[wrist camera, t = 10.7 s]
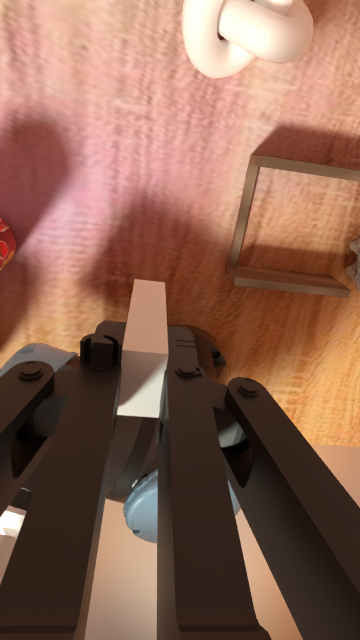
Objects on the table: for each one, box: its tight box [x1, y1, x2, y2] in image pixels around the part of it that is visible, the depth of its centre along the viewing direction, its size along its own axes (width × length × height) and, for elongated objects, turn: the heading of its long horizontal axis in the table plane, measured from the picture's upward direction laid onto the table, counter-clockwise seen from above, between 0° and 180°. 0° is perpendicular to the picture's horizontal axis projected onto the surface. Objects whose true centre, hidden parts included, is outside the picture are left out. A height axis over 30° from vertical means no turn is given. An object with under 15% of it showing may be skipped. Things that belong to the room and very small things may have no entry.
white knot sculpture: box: [182, 0, 314, 78], centre depth 29 cm, size 11×12×9 cm
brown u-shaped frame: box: [227, 155, 360, 298], centre depth 40 cm, size 14×14×5 cm
